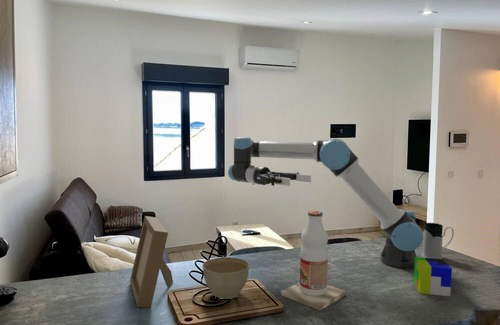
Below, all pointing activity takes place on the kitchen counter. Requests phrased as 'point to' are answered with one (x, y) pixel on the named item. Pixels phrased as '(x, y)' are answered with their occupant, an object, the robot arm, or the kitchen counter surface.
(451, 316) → the kitchen counter surface
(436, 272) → the puzzle toy
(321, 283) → the fruit juice
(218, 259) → the planter bowl
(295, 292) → the birch board
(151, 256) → the photo frame
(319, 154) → the robot arm
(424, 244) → the grey pitcher
